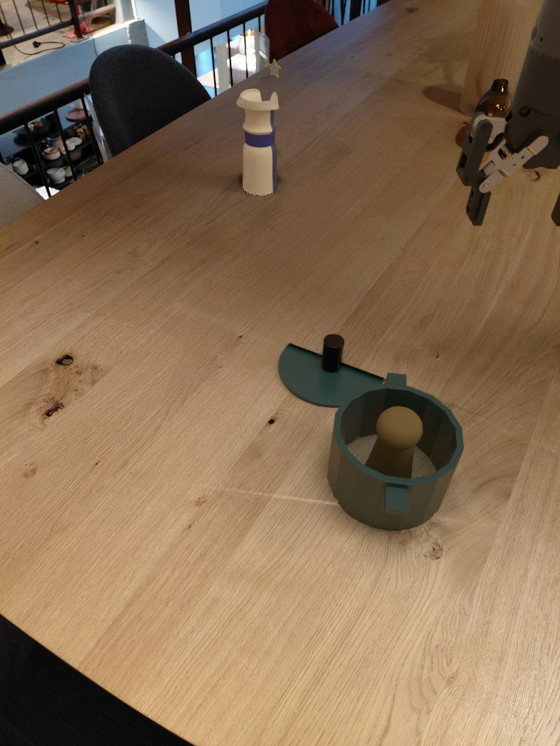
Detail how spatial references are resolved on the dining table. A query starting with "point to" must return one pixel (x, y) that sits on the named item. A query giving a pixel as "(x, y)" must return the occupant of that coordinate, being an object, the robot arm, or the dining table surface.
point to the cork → (395, 442)
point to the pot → (386, 493)
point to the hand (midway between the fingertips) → (516, 222)
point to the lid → (322, 373)
